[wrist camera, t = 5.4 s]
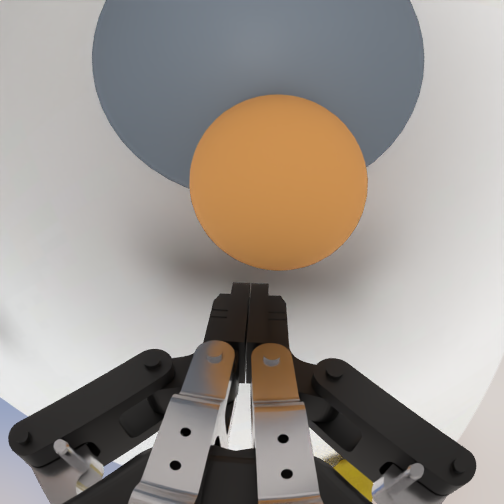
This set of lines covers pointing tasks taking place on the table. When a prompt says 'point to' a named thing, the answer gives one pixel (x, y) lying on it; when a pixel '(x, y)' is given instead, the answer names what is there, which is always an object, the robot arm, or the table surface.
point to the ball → (278, 182)
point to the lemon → (355, 478)
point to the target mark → (252, 68)
